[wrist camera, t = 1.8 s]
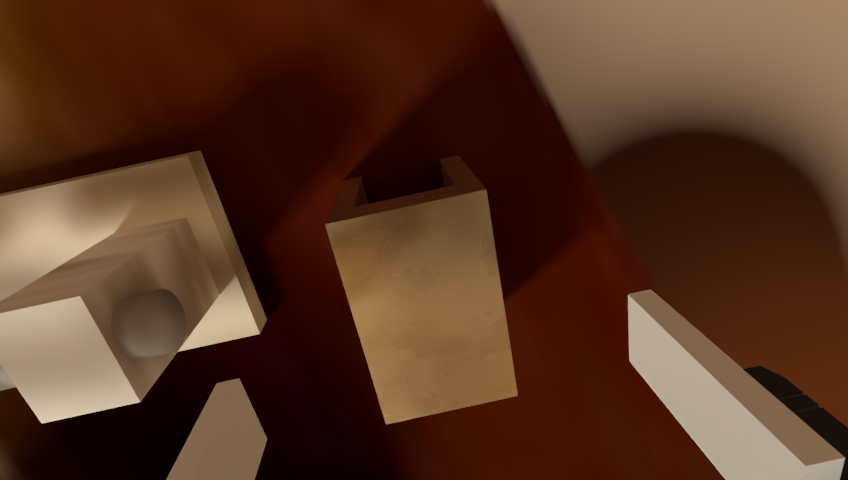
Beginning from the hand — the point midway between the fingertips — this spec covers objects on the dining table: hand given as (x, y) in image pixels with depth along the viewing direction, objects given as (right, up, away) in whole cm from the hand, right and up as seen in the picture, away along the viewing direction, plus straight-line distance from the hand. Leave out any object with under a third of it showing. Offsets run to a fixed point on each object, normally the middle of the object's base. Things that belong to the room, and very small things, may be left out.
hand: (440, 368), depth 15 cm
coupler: (-1, +4, +10) cm, 11 cm away
